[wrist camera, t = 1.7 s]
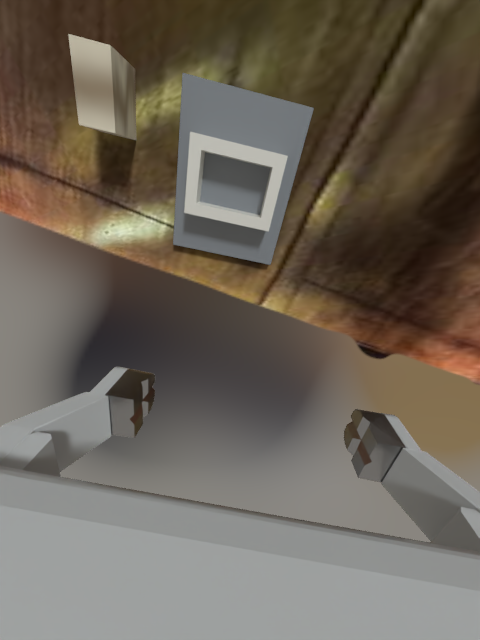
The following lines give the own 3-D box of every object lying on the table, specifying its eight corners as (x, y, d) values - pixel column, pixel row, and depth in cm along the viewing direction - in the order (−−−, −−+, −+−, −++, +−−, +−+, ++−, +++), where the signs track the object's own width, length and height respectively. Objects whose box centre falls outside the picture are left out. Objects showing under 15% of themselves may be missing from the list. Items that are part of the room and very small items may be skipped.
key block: (101, 60, 28) (68, 34, 23) (135, 69, 28) (110, 45, 23) (106, 133, 32) (79, 124, 27) (136, 140, 32) (115, 133, 27)
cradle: (185, 76, 29) (176, 62, 25) (311, 110, 30) (320, 101, 26) (175, 242, 39) (167, 249, 35) (269, 262, 40) (271, 270, 36)
